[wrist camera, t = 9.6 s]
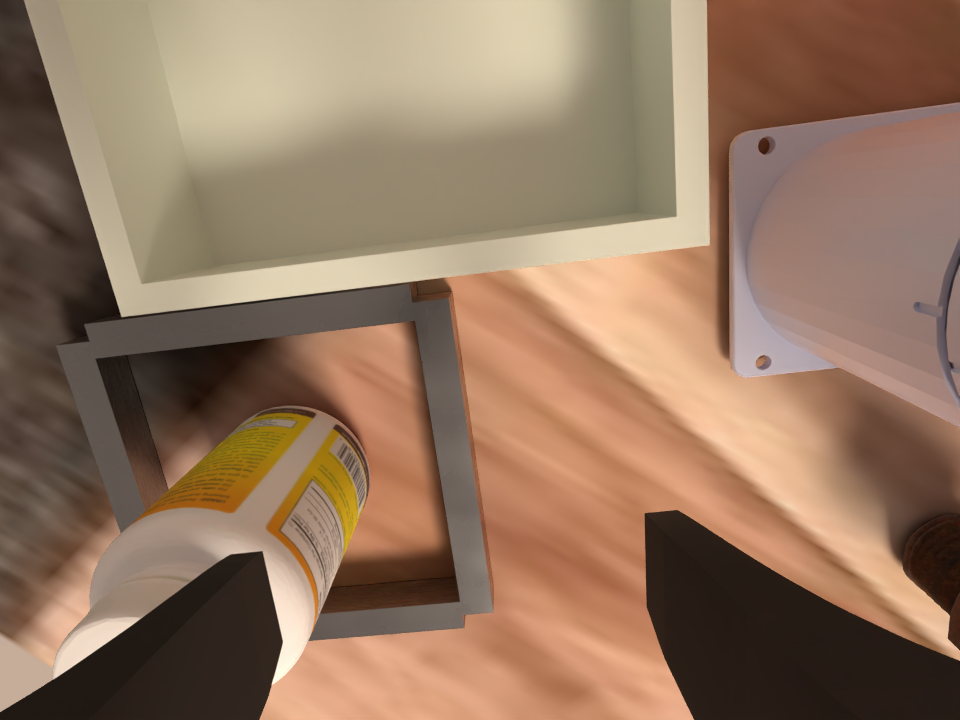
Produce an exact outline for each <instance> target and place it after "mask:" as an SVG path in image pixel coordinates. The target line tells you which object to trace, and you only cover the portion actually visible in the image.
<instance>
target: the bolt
mask: <svg viewBox="0 0 960 720" xmlns="http://www.w3.org/2000/svg"><path fill="white" fill-rule="evenodd" d="M902 564H903V570H904V572H905V574H906V575H907V576H908V577H909V579H910V580H912V581H913V582H914V583H915V584H916V585H917V586H918V587H920V589H922V590H923V591H924V592H926V594H927V595H928V596H929V597H931V598H932V599H933V600H934V602H936V603H937V604H938V605H940V607H941V608H942V609H943V610H945V611H946V612H947V613H948V614H949V615H950V622H949V632H948V639H949V640H950V641H951V642H952V643H953V644H954V645H955V646H956V647H957V648H958V649H959V650H960V514H946V515H943V516H940V517H937V518H935V519H933V520H931V521H929V522H927V523H926V524H924V525H923V526H921V527H919V528H918V529H917V530H916V531H915V532H914V533H913V534H912V535H911V536H910V538H909V540H908V542H907V544H906V546H905V550H904V555H903V562H902Z"/></svg>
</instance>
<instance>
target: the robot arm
mask: <svg viewBox="0 0 960 720" xmlns="http://www.w3.org/2000/svg"><path fill="white" fill-rule="evenodd" d="M762 138H766V139H767V140H768V141H769V144H770V146H769V150H768V151H767V152H766V154H762V153H761V152H759V149H758V144H759V141H760V140H761V139H762ZM729 320H730V367H731V369H732V370H733V372H734V373H736V374H737V375H739V376H741V377H746V378H749V377H758V376H768V375H777V374H786V373H795V372H805V371H814V370H823V369H833V368H841V369H843V370H845V371H847V372H849V373H851V374H853V375H855V376H857V377H859V378H861V379H863V380H865V381H867V382H869V383H871V384H873V385H875V386H877V387H879V388H881V389H883V390H885V391H887V392H889V393H891V394H893V395H895V396H897V397H899V398H901V399H903V400H905V401H907V402H909V403H911V404H913V405H915V406H917V407H919V408H922V409H924V410H926V411H928V412H930V413H932V414H934V415H936V416H938V417H940V418H942V419H944V420H946V421H948V422H950V423H952V424H954V425H956V426H958V427H960V102H958V103H951V104H943V105H936V106H928V107H921V108H913V109H906V110H899V111H891V112H884V113H876V114H869V115H861V116H854V117H846V118H839V119H832V120H824V121H817V122H809V123H802V124H794V125H787V126H779V127H772V128H765V129H757V130H750V131H746V132H743V133H740V134H738V135H737V136H736V137H735V138H734V139H733V140H732V142H731V144H730V149H729ZM762 355H765V356H766V361H765V363H764V364H763V365H762V366H759V367H757V366H756V364H755V363H756V360H757V359H758V358H759V357H760V356H762ZM645 549H646V594H647V609H648V612H649V615H650V617H651V620H652V623H653V626H654V629H655V632H656V635H657V638H658V641H659V644H660V646H661V649H662V652H663V655H664V658H665V660H666V662H667V664H668V666H669V669H670V671H671V673H672V675H673V677H674V679H675V681H676V683H677V685H678V687H679V689H680V691H681V694H682V696H683V698H684V700H685V702H686V704H687V706H688V708H689V710H690V712H691V714H692V716H693V718H694V720H960V661H958V660H956V659H953V658H951V657H948V656H946V655H943V654H941V653H938V652H936V651H933V650H931V649H928V648H926V647H924V646H921V645H919V644H917V643H914V642H912V641H910V640H907V639H905V638H903V637H901V636H898V635H896V634H894V633H892V632H890V631H888V630H886V629H883V628H881V627H879V626H877V625H875V624H873V623H871V622H869V621H866V620H864V619H862V618H860V617H858V616H856V615H854V614H852V613H850V612H848V611H846V610H844V609H842V608H840V607H838V606H836V605H834V604H832V603H830V602H828V601H826V600H824V599H823V598H821V597H819V596H817V595H815V594H814V593H812V592H810V591H808V590H806V589H805V588H803V587H801V586H799V585H797V584H796V583H794V582H792V581H790V580H788V579H787V578H785V577H783V576H782V575H780V574H778V573H777V572H775V571H773V570H771V569H770V568H768V567H767V566H765V565H763V564H762V563H760V562H758V561H757V560H755V559H754V558H752V557H750V556H749V555H747V554H745V553H744V552H742V551H741V550H739V549H738V548H736V547H735V546H733V545H731V544H730V543H728V542H727V541H725V540H724V539H722V538H721V537H719V536H718V535H716V534H714V533H713V532H711V531H710V530H708V529H707V528H705V527H704V526H702V525H701V524H699V523H698V522H696V521H694V520H693V519H691V518H690V517H688V516H686V515H685V514H683V513H681V512H680V511H678V510H674V511H664V512H654V513H645ZM282 645H283V639H282V635H281V630H280V626H279V621H278V617H277V613H276V608H275V604H274V599H273V595H272V591H271V586H270V582H269V577H268V573H267V568H266V564H265V560H264V555H263V551H258V552H248V553H238V554H230V555H228V556H227V557H225V558H224V559H222V560H220V561H219V562H217V563H216V564H214V565H213V566H212V567H210V568H209V569H207V570H206V571H205V572H203V573H202V574H200V575H199V576H198V577H196V578H195V579H194V580H192V581H191V582H190V583H188V584H187V585H185V586H184V587H183V588H181V589H180V590H179V591H177V592H176V593H175V594H173V595H172V596H171V597H169V598H168V599H167V600H165V601H164V602H163V603H161V604H160V605H159V606H157V607H156V608H155V609H153V610H152V611H151V612H149V613H148V614H146V615H145V616H144V617H142V618H141V619H140V620H138V621H137V622H136V623H134V624H133V625H132V626H130V627H129V628H127V629H126V630H125V631H123V632H122V633H120V634H119V635H117V636H116V637H114V638H113V639H112V640H110V641H109V642H107V643H106V644H104V645H103V646H102V647H100V648H99V649H97V650H96V651H94V652H93V653H92V654H90V655H89V656H87V657H86V658H84V659H83V660H81V661H80V662H79V663H77V664H76V665H74V666H73V667H71V668H70V669H68V670H67V671H65V672H64V673H62V674H61V675H59V676H58V677H56V678H55V679H53V680H52V681H50V682H49V683H47V684H45V685H44V686H43V687H41V688H39V689H38V690H36V691H34V692H33V693H31V694H30V695H28V696H26V697H25V698H23V699H21V700H20V701H18V702H16V703H15V704H13V705H11V706H10V707H8V708H7V709H5V710H3V711H2V712H0V720H259V719H260V716H261V714H262V711H263V709H264V706H265V704H266V701H267V699H268V696H269V692H270V689H271V685H272V682H273V679H274V675H275V672H276V668H277V664H278V660H279V656H280V652H281V648H282Z"/></svg>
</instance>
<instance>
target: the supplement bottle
mask: <svg viewBox="0 0 960 720" xmlns="http://www.w3.org/2000/svg"><path fill="white" fill-rule="evenodd" d="M369 487H370V469H369V464H368V460H367V457H366V454H365V452H364V450H363V448H362V446H361V444H360V442H359V441H358V439H357V438H356V437H355V435H354V434H353V433H352V432H351V431H350V430H349V429H348V428H347V427H346V426H345V425H344V424H343V423H341V422H340V421H338V420H337V419H336V418H334V417H332V416H330V415H328V414H327V413H324V412H322V411H319V410H316V409H313V408H309V407H304V406H279V407H273V408H269V409H266V410H263V411H261V412H259V413H257V414H255V415H253V416H252V417H250V418H249V419H247V420H246V421H244V422H243V423H242V424H241V425H240V426H238V427H237V428H236V429H235V430H234V431H233V432H232V433H231V434H230V435H229V436H228V437H226V438H225V439H224V440H223V441H222V442H221V443H220V444H219V445H218V446H216V447H215V448H214V449H213V450H212V451H211V452H210V453H209V454H208V455H207V456H206V457H204V458H203V459H202V460H201V461H200V462H199V463H198V464H197V465H195V466H194V467H193V468H192V469H191V470H190V471H189V472H188V473H187V474H186V475H185V476H184V477H182V478H181V479H180V480H179V481H178V482H177V483H176V484H175V485H174V486H173V487H172V488H170V489H169V490H168V491H167V492H166V493H165V494H164V495H163V496H162V497H161V498H159V499H158V500H157V501H156V502H155V503H154V504H153V505H152V506H151V507H150V508H148V509H147V510H146V511H145V512H144V513H143V514H142V515H141V516H140V517H138V518H137V519H136V520H135V521H134V522H133V523H132V524H131V525H129V526H128V527H127V528H126V529H125V530H124V531H123V532H122V533H121V534H120V535H119V536H118V537H117V538H116V539H115V540H114V541H113V542H112V543H111V544H110V546H109V547H108V548H107V549H106V551H105V552H104V553H103V555H102V557H101V559H100V560H99V562H98V564H97V567H96V569H95V571H94V574H93V578H92V581H91V587H90V611H89V613H88V614H87V616H86V617H85V618H84V619H83V620H82V621H81V622H80V623H79V624H78V625H77V626H76V627H75V628H74V629H73V630H72V631H71V632H70V633H69V634H68V636H67V637H66V638H65V640H64V641H63V643H62V644H61V646H60V648H59V650H58V652H57V654H56V658H55V662H54V665H53V679H55V678H56V677H58V676H59V675H61V674H62V673H64V672H65V671H67V670H68V669H70V668H71V667H73V666H74V665H76V664H77V663H79V662H80V661H81V660H83V659H84V658H86V657H87V656H89V655H90V654H92V653H93V652H94V651H96V650H97V649H99V648H100V647H102V646H103V645H104V644H106V643H107V642H109V641H110V640H112V639H113V638H114V637H116V636H117V635H119V634H120V633H122V632H123V631H125V630H126V629H127V628H129V627H130V626H132V625H133V624H134V623H136V622H137V621H138V620H140V619H141V618H142V617H144V616H145V615H146V614H148V613H149V612H151V611H152V610H153V609H155V608H156V607H157V606H159V605H160V604H161V603H163V602H164V601H165V600H167V599H168V598H169V597H171V596H172V595H173V594H175V593H176V592H177V591H179V590H180V589H181V588H183V587H184V586H185V585H187V584H188V583H190V582H191V581H192V580H194V579H195V578H196V577H198V576H199V575H200V574H202V573H203V572H205V571H206V570H207V569H209V568H210V567H212V566H213V565H214V564H216V563H217V562H219V561H220V560H222V559H224V558H225V557H227V556H228V555H230V554H238V553H248V552H258V551H263V555H264V560H265V564H266V568H267V573H268V577H269V582H270V586H271V591H272V595H273V599H274V604H275V608H276V613H277V617H278V621H279V626H280V630H281V635H282V639H283V645H282V648H281V652H280V656H279V660H278V664H277V668H276V672H275V675H274V679H273V682H272V685H273V684H274V683H275V682H277V681H278V680H279V679H281V678H282V677H283V676H284V675H285V674H286V673H287V672H288V671H289V670H290V669H291V668H292V667H293V666H294V664H295V663H296V662H297V661H298V659H299V657H300V656H301V654H302V652H303V650H304V648H305V646H306V644H307V642H308V640H309V638H310V636H311V634H312V632H313V629H314V626H315V624H316V621H317V619H318V617H319V614H320V612H321V609H322V607H323V605H324V602H325V600H326V597H327V595H328V592H329V590H330V587H331V585H332V583H333V580H334V578H335V575H336V573H337V570H338V568H339V566H340V563H341V561H342V558H343V556H344V554H345V551H346V549H347V546H348V544H349V541H350V539H351V537H352V534H353V532H354V529H355V527H356V524H357V522H358V520H359V517H360V515H361V512H362V510H363V508H364V505H365V502H366V499H367V496H368V492H369Z"/></svg>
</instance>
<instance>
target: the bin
mask: <svg viewBox="0 0 960 720" xmlns="http://www.w3.org/2000/svg"><path fill="white" fill-rule="evenodd" d="M24 2H25V5H26V9H27V12H28V15H29V18H30V22H31V25H32V28H33V31H34V35H35V38H36V41H37V44H38V48H39V51H40V54H41V57H42V61H43V64H44V67H45V70H46V73H47V77H48V80H49V83H50V86H51V90H52V93H53V96H54V99H55V103H56V106H57V109H58V112H59V116H60V119H61V122H62V125H63V129H64V132H65V135H66V138H67V142H68V145H69V148H70V151H71V155H72V158H73V161H74V164H75V168H76V171H77V174H78V177H79V181H80V184H81V187H82V190H83V193H84V197H85V200H86V203H87V206H88V210H89V213H90V216H91V219H92V223H93V226H94V229H95V232H96V236H97V239H98V242H99V245H100V249H101V252H102V255H103V258H104V262H105V265H106V268H107V271H108V275H109V278H110V281H111V284H112V288H113V291H114V294H115V297H116V300H117V304H118V307H119V310H120V313H121V317H126V316H135V315H143V314H151V313H159V312H167V311H175V310H184V309H192V308H200V307H208V306H216V305H224V304H233V303H241V302H249V301H257V300H265V299H273V298H282V297H290V296H298V295H306V294H314V293H322V292H331V291H339V290H347V289H355V288H363V287H371V286H380V285H388V284H396V283H404V282H412V281H420V280H428V279H437V278H445V277H453V276H461V275H469V274H477V273H486V272H494V271H502V270H510V269H518V268H526V267H535V266H543V265H551V264H559V263H567V262H575V261H584V260H592V259H600V258H608V257H616V256H624V255H633V254H641V253H649V252H657V251H665V250H673V249H682V248H690V247H698V246H706V245H710V222H709V138H708V54H707V0H24Z"/></svg>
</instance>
